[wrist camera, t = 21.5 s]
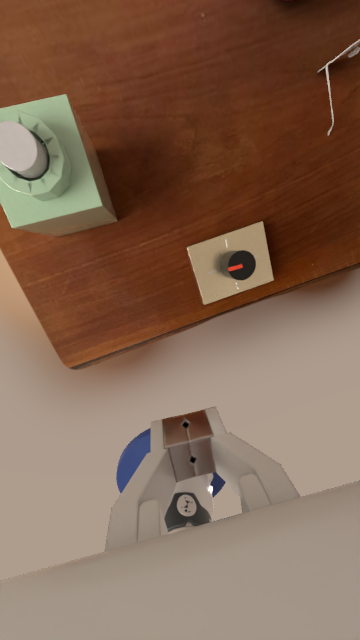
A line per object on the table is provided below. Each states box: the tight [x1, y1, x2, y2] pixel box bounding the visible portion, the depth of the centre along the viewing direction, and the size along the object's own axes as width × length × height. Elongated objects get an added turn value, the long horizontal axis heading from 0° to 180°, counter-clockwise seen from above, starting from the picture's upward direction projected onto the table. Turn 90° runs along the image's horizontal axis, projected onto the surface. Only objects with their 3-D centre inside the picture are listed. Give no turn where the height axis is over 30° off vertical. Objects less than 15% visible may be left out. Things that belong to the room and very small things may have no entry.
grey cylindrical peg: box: [0, 121, 48, 178], centre depth 20 cm, size 4×4×2 cm
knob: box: [220, 250, 256, 280], centre depth 34 cm, size 4×4×4 cm
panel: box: [184, 221, 274, 305], centre depth 38 cm, size 10×13×3 cm
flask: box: [0, 94, 118, 237], centre depth 27 cm, size 10×10×14 cm
